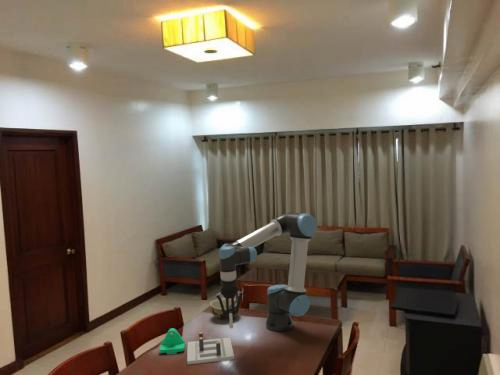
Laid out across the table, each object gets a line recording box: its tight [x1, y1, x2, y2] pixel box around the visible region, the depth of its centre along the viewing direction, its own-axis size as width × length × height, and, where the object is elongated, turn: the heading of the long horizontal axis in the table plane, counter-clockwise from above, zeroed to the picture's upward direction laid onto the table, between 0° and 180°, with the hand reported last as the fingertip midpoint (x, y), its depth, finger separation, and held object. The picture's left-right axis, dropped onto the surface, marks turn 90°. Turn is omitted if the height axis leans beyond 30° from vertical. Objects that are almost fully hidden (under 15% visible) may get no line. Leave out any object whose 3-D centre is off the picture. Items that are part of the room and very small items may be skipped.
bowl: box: [209, 297, 240, 320], centre depth 255 cm, size 18×18×10 cm
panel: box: [186, 337, 235, 366], centre depth 209 cm, size 22×22×2 cm
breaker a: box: [198, 331, 204, 338], centre depth 216 cm, size 2×3×5 cm
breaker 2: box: [216, 341, 221, 354], centre depth 203 cm, size 2×3×5 cm
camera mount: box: [159, 327, 186, 355], centre depth 213 cm, size 12×8×10 cm, turn 94°
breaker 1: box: [198, 336, 204, 350], centre depth 209 cm, size 2×3×5 cm
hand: (231, 327), depth 203 cm, fingers closed
